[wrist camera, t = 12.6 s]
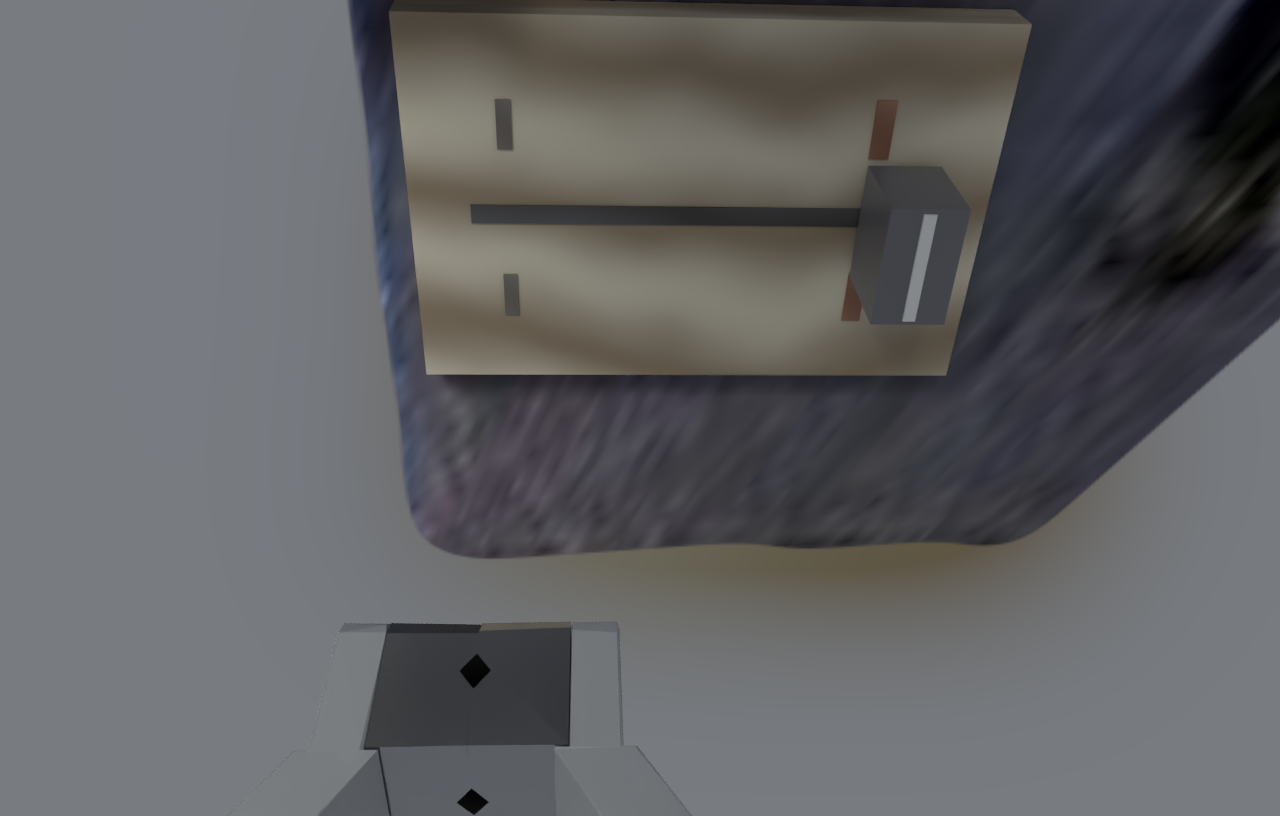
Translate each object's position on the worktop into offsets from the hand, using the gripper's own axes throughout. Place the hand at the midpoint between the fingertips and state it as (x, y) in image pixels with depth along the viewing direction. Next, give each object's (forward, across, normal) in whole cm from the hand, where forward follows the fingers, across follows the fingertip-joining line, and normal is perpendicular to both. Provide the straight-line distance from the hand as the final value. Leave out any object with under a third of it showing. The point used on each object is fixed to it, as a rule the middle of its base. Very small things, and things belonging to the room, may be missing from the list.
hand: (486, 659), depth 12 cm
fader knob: (+32, -14, +10) cm, 36 cm away
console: (+34, -6, +10) cm, 36 cm away
